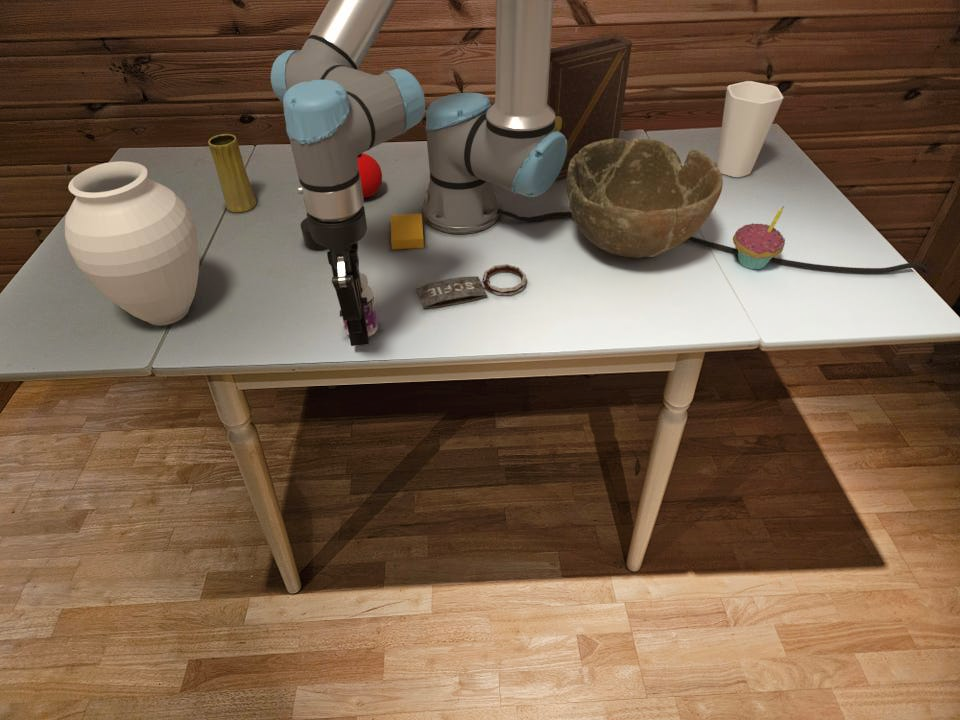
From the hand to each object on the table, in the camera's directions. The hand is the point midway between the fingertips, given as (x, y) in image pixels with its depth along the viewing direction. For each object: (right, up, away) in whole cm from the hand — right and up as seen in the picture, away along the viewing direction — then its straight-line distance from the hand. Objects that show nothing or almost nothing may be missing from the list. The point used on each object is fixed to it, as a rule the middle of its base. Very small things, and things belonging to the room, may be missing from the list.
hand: (360, 342), depth 102 cm
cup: (+74, +39, +42) cm, 94 cm away
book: (+39, +40, +44) cm, 72 cm away
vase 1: (-34, +5, +9) cm, 36 cm away
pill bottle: (0, +2, +5) cm, 5 cm away
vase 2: (-31, +29, +34) cm, 54 cm away
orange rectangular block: (+5, +21, +25) cm, 33 cm away
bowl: (+47, +19, +22) cm, 56 cm away
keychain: (+18, +9, +12) cm, 23 cm away
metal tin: (-12, +20, +24) cm, 33 cm away
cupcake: (+68, +15, +17) cm, 72 cm away
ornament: (-6, +32, +36) cm, 49 cm away
